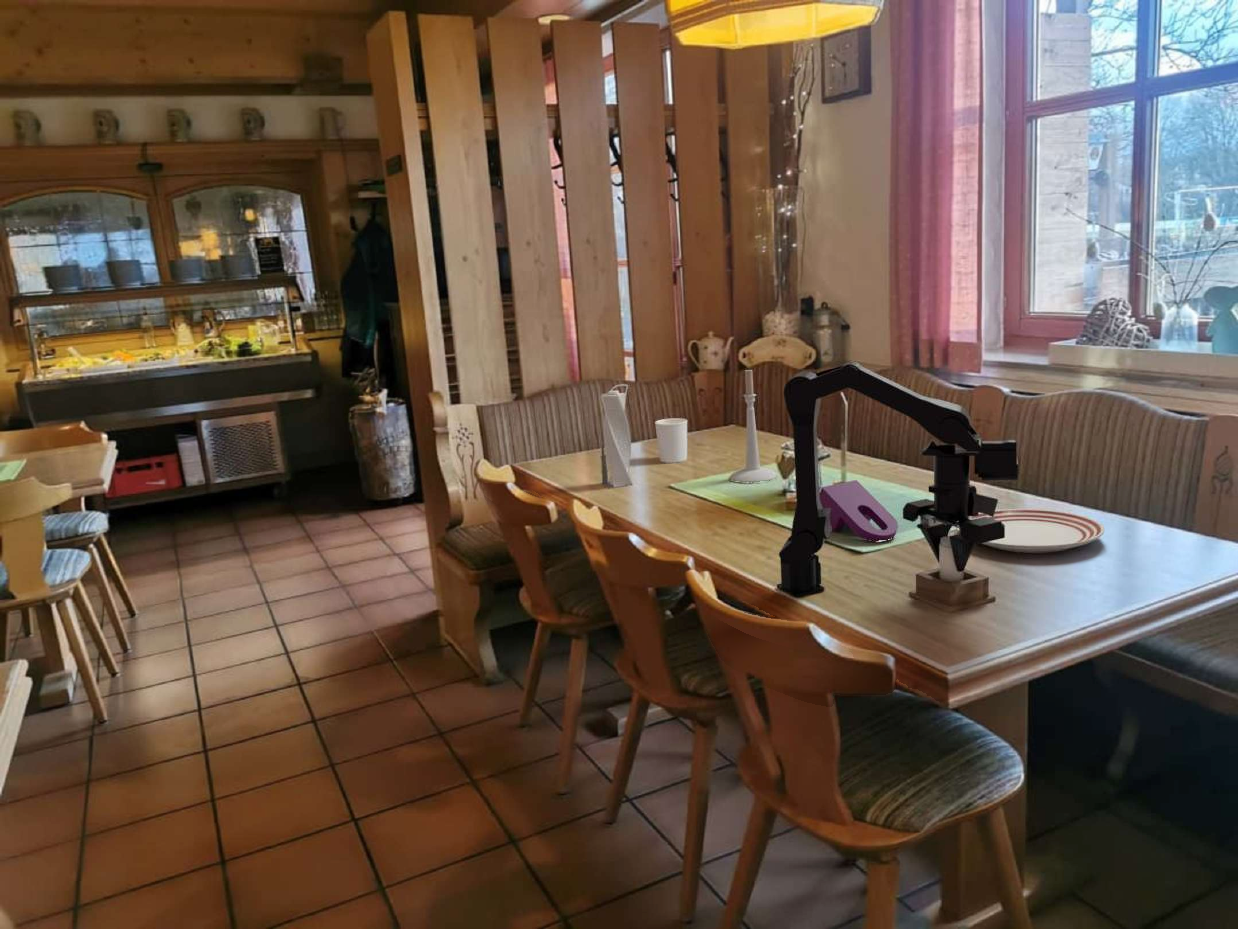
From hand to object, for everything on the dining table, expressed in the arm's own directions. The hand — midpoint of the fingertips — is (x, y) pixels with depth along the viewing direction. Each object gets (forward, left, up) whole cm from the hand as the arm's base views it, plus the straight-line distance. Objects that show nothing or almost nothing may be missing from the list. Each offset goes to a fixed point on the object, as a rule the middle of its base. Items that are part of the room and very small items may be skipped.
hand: (951, 567), depth 162 cm
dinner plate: (+34, +16, -6) cm, 38 cm away
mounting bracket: (+11, +40, -6) cm, 42 cm away
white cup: (+11, +131, -6) cm, 132 cm away
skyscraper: (-14, +114, -6) cm, 115 cm away
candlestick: (+18, +96, -6) cm, 98 cm away
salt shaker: (0, 0, -3) cm, 3 cm away
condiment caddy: (0, 0, -5) cm, 5 cm away
